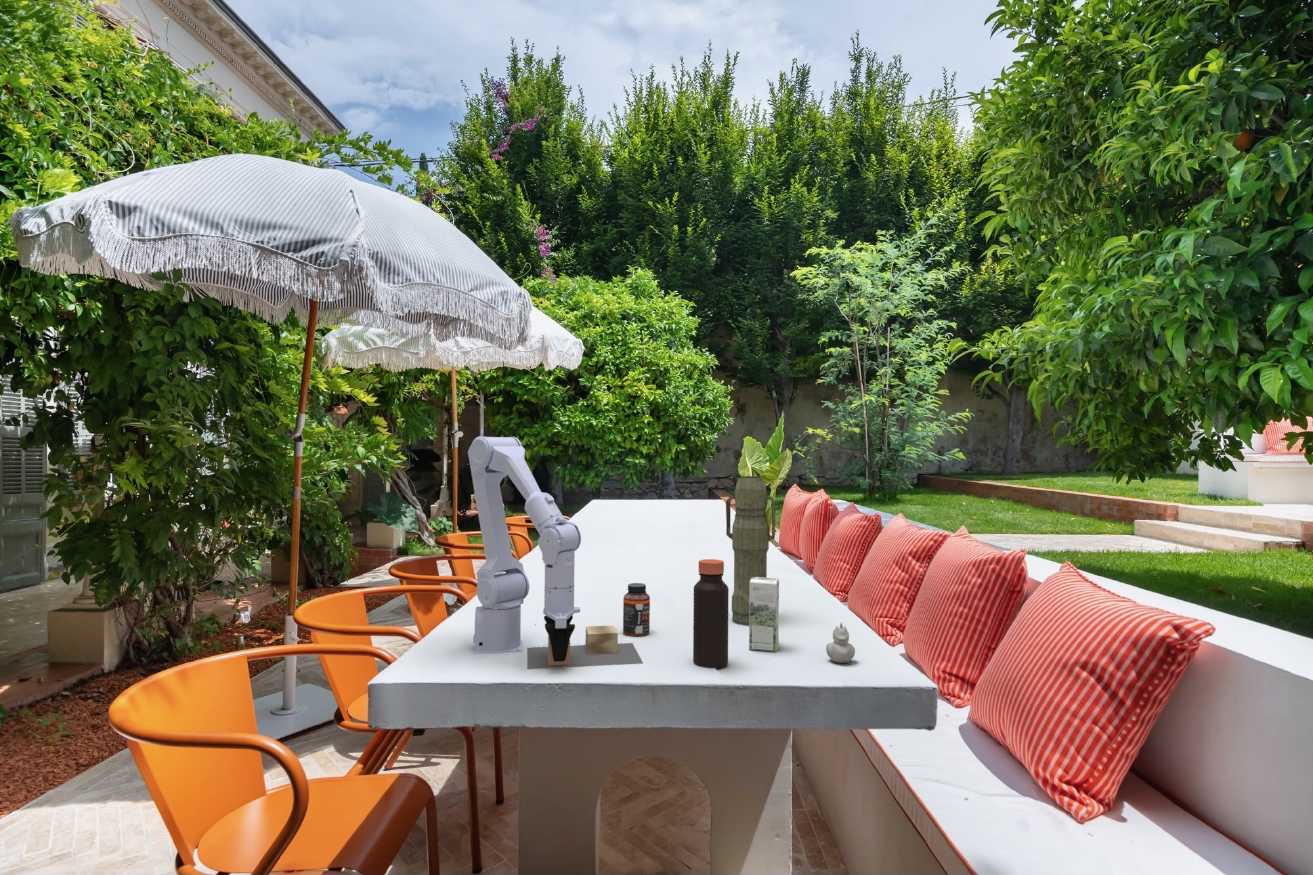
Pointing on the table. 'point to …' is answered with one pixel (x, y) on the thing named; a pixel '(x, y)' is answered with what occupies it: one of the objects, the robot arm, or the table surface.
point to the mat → (584, 657)
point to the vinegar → (710, 616)
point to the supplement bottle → (636, 611)
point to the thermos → (748, 540)
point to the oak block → (601, 639)
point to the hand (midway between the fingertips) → (558, 656)
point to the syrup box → (763, 614)
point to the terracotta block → (550, 656)
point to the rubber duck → (840, 646)
